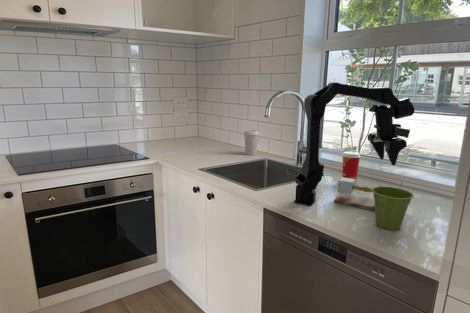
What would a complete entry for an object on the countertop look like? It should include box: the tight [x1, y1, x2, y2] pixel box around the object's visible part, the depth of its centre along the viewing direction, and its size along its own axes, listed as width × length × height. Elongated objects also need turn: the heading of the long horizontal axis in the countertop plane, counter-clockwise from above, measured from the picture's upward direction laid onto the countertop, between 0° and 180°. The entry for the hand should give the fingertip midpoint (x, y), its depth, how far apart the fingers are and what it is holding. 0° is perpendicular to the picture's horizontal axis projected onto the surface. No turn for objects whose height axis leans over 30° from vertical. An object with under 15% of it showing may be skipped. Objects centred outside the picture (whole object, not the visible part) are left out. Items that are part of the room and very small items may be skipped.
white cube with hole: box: [337, 177, 356, 195], centre depth 125 cm, size 5×5×5 cm
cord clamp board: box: [333, 184, 380, 212], centre depth 123 cm, size 18×9×8 cm, turn 58°
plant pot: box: [371, 185, 415, 231], centre depth 104 cm, size 12×12×11 cm
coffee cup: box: [243, 129, 260, 156], centre depth 206 cm, size 10×10×15 cm
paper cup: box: [341, 151, 362, 185], centre depth 147 cm, size 8×8×14 cm
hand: (387, 161), depth 126 cm, fingers open, 9 cm apart
